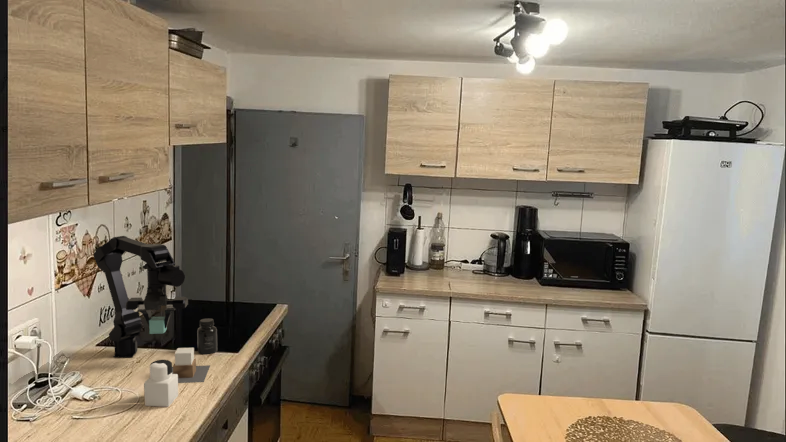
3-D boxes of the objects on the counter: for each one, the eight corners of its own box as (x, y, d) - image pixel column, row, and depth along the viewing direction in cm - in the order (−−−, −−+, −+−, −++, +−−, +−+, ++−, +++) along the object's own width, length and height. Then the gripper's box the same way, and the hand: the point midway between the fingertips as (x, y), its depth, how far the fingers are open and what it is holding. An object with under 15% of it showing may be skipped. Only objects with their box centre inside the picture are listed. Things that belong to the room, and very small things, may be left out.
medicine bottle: (155, 395, 173) (154, 357, 172) (178, 396, 173) (177, 357, 171) (144, 406, 166) (142, 366, 164) (168, 407, 166) (167, 367, 164)
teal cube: (149, 333, 193) (149, 320, 192) (152, 329, 197) (152, 316, 197) (163, 333, 194) (163, 320, 193) (166, 329, 198) (166, 316, 197)
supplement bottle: (220, 349, 213) (219, 317, 211) (212, 356, 206) (212, 323, 204) (202, 348, 213) (201, 316, 212) (194, 355, 207) (193, 322, 205)
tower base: (173, 378, 185) (173, 366, 185) (177, 370, 191) (176, 359, 190) (192, 377, 186) (192, 365, 186) (196, 370, 192) (195, 358, 191)
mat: (157, 385, 181) (157, 383, 180) (167, 367, 194) (167, 366, 194) (203, 383, 183) (203, 381, 183) (210, 366, 197) (210, 365, 196)
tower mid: (174, 365, 185) (174, 353, 185) (178, 359, 190) (177, 348, 189) (191, 364, 186) (191, 353, 185) (194, 359, 191) (193, 347, 190)
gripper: (119, 289, 184) (121, 336, 186) (181, 288, 187) (182, 334, 189) (129, 281, 195) (131, 325, 197) (187, 280, 198) (188, 324, 200)
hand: (158, 327), depth 195 cm, fingers closed on teal cube, 4 cm apart
